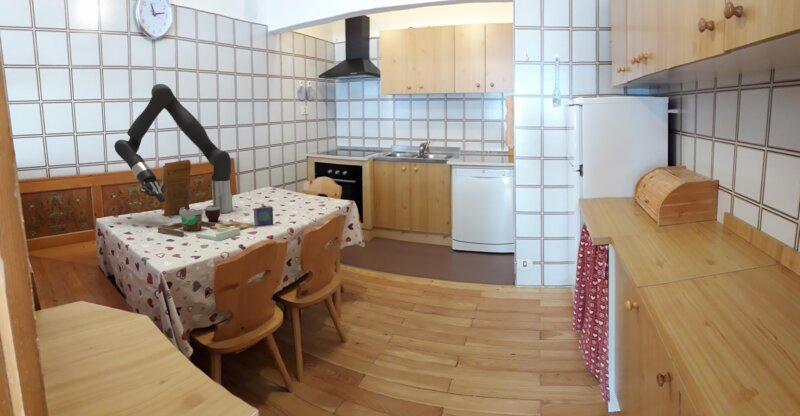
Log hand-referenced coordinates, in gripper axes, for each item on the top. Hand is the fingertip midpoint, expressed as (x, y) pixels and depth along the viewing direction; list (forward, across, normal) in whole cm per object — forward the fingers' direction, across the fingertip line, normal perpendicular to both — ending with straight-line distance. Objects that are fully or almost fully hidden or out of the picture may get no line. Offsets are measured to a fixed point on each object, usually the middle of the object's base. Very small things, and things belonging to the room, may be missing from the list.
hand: (163, 201), depth 243 cm
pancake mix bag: (-3, +22, +20) cm, 30 cm away
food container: (+20, 0, -3) cm, 20 cm away
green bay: (+33, 0, -16) cm, 36 cm away
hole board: (+29, +14, -12) cm, 35 cm away
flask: (+36, +26, -19) cm, 48 cm away
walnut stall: (+19, 0, -2) cm, 19 cm away
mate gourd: (+18, +18, -1) cm, 25 cm away
